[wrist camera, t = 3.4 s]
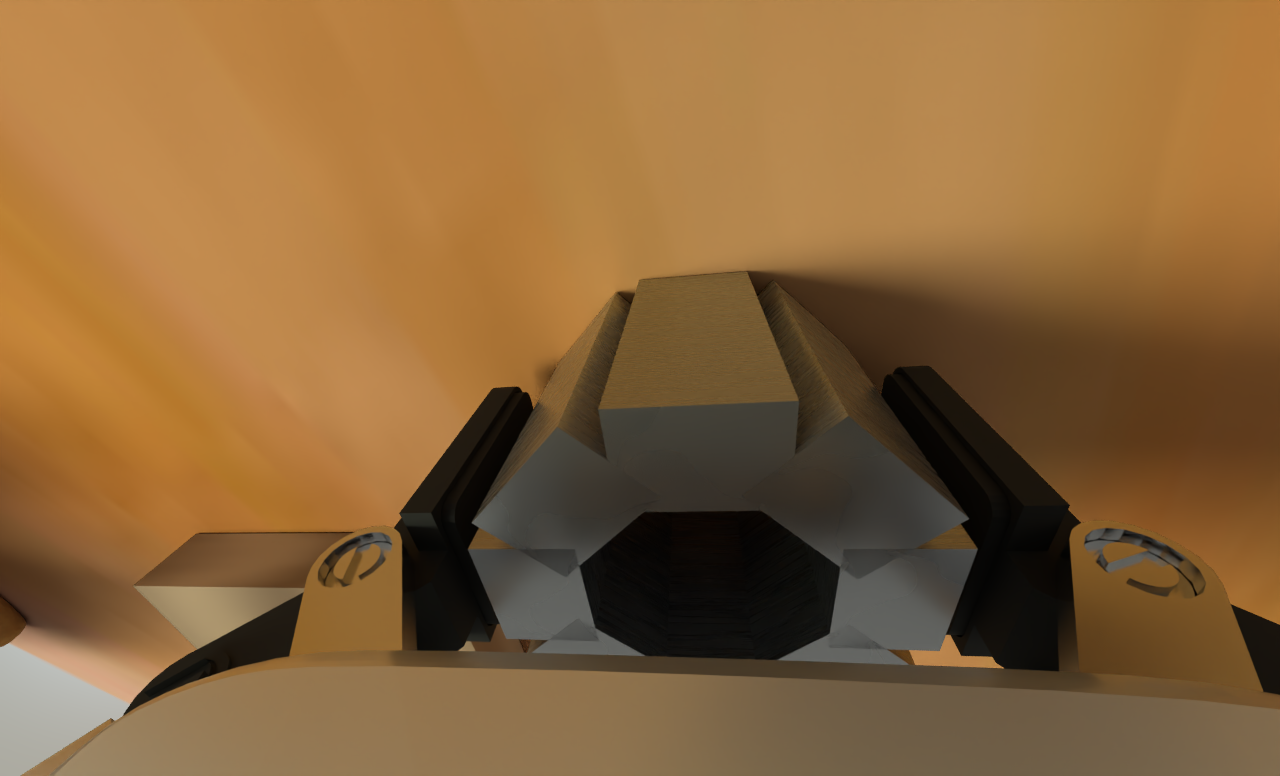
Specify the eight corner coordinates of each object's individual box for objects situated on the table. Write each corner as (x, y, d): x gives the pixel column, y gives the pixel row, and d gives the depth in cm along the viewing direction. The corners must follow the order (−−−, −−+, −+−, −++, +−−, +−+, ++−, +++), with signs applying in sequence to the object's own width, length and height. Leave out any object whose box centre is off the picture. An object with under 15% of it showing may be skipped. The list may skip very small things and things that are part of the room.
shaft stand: (475, 532, 14) (289, 887, 7) (544, 702, 19) (468, 1005, 12) (195, 533, 15) (-170, 836, 9) (328, 692, 20) (158, 960, 14)
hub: (867, 261, 9) (1037, 389, 5) (832, 514, 12) (910, 727, 8) (534, 288, 10) (411, 417, 5) (586, 516, 13) (536, 708, 9)
